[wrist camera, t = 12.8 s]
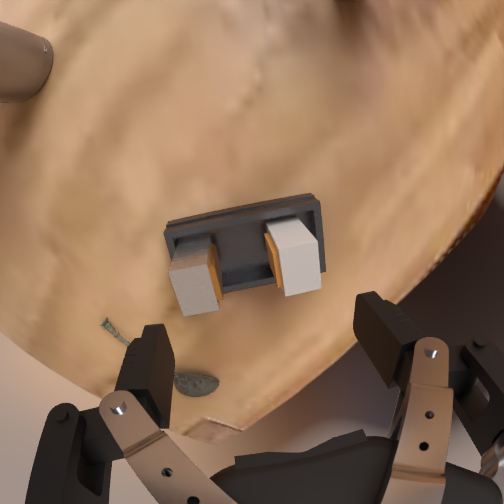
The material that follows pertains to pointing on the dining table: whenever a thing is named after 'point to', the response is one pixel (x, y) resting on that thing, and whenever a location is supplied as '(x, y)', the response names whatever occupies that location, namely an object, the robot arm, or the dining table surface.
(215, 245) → the grey tray with blocks
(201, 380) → the soupspoon
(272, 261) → the white block
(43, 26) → the dining table surface
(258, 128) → the dining table surface
